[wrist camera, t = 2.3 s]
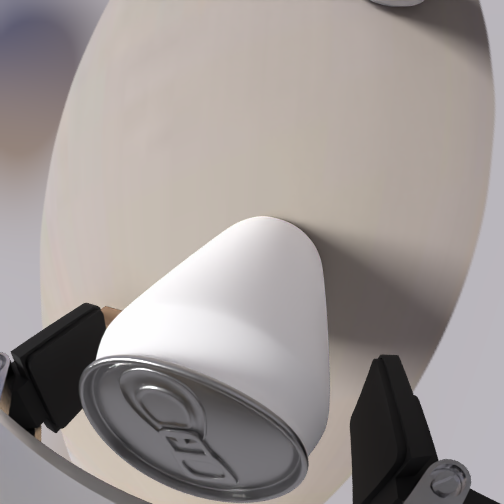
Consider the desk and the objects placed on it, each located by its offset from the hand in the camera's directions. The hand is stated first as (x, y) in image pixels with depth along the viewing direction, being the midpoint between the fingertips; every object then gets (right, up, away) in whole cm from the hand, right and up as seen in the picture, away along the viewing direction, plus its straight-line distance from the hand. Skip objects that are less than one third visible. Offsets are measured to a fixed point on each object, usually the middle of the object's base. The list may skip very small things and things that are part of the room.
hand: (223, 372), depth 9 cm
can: (+2, +3, +8) cm, 9 cm away
